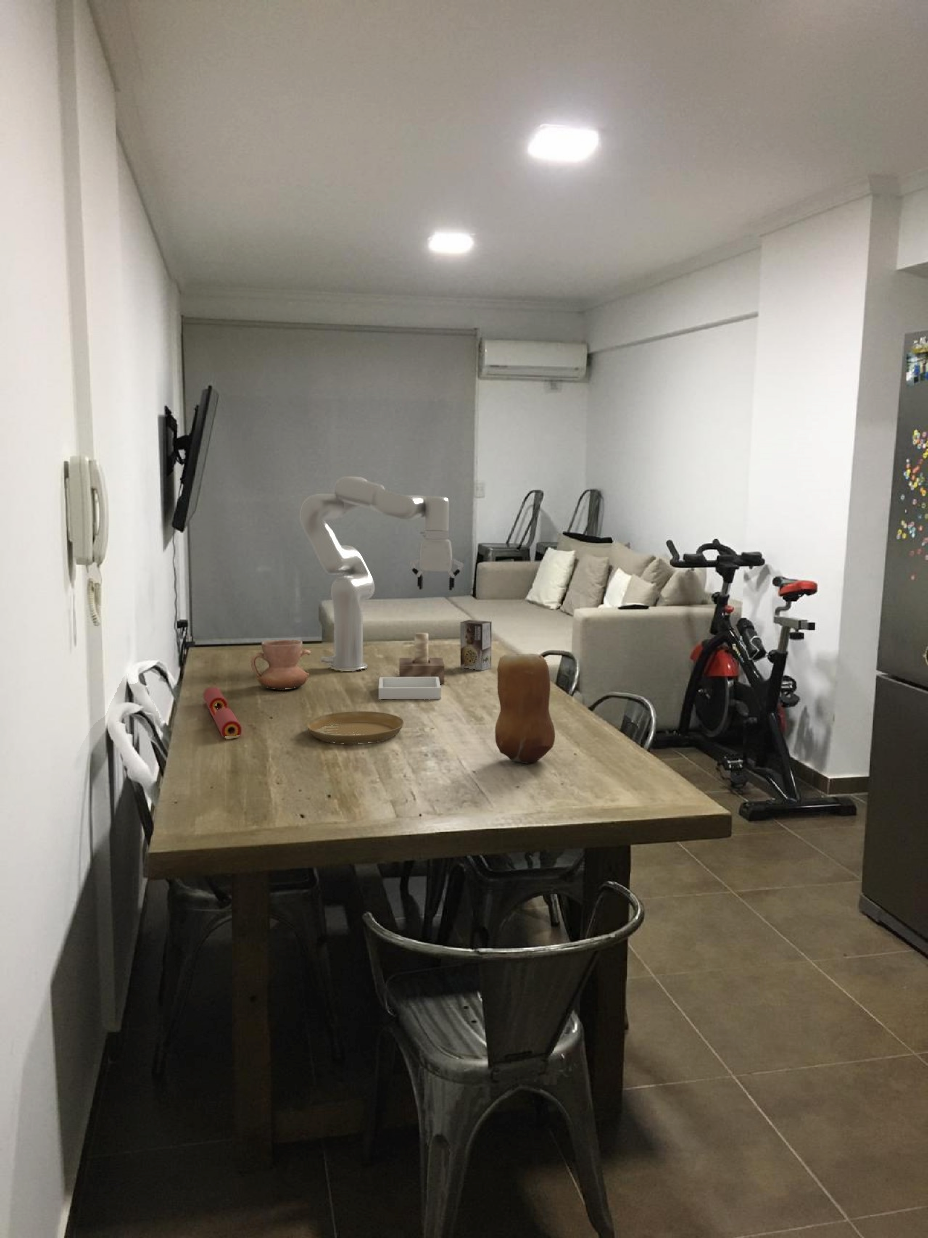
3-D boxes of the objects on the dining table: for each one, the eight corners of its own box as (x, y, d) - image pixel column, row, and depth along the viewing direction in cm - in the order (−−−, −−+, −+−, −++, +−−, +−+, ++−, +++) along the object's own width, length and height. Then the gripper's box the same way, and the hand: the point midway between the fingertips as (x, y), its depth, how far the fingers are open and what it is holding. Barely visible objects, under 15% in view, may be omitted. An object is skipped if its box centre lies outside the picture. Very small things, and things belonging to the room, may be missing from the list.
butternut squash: (518, 750, 228) (519, 645, 225) (565, 760, 220) (568, 652, 217) (481, 762, 218) (482, 653, 214) (530, 774, 209) (532, 660, 206)
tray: (378, 700, 280) (378, 688, 279) (379, 688, 296) (379, 677, 295) (440, 699, 281) (440, 687, 281) (438, 688, 297) (438, 676, 296)
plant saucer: (312, 751, 227) (312, 737, 227) (301, 726, 250) (301, 713, 250) (413, 744, 234) (413, 731, 233) (393, 721, 257) (393, 708, 256)
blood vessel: (242, 739, 237) (241, 719, 236) (221, 741, 235) (220, 721, 234) (221, 703, 276) (221, 686, 275) (203, 704, 274) (202, 687, 273)
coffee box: (492, 668, 330) (492, 621, 328) (482, 671, 324) (482, 623, 322) (469, 665, 335) (469, 619, 332) (459, 668, 329) (459, 621, 327)
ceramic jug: (310, 681, 305) (308, 637, 303) (313, 690, 291) (311, 644, 289) (251, 685, 301) (249, 640, 299) (252, 694, 287) (250, 647, 285)
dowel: (414, 681, 306) (414, 634, 304) (414, 678, 310) (414, 632, 308) (428, 681, 306) (428, 634, 304) (428, 678, 311) (428, 632, 309)
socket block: (399, 684, 301) (399, 665, 300) (399, 676, 315) (399, 657, 314) (444, 684, 302) (444, 665, 301) (442, 675, 316) (442, 657, 315)
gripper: (407, 535, 304) (407, 590, 306) (462, 537, 302) (461, 591, 305) (411, 534, 311) (410, 587, 314) (464, 535, 310) (463, 589, 312)
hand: (435, 589), depth 309 cm, fingers open, 9 cm apart
